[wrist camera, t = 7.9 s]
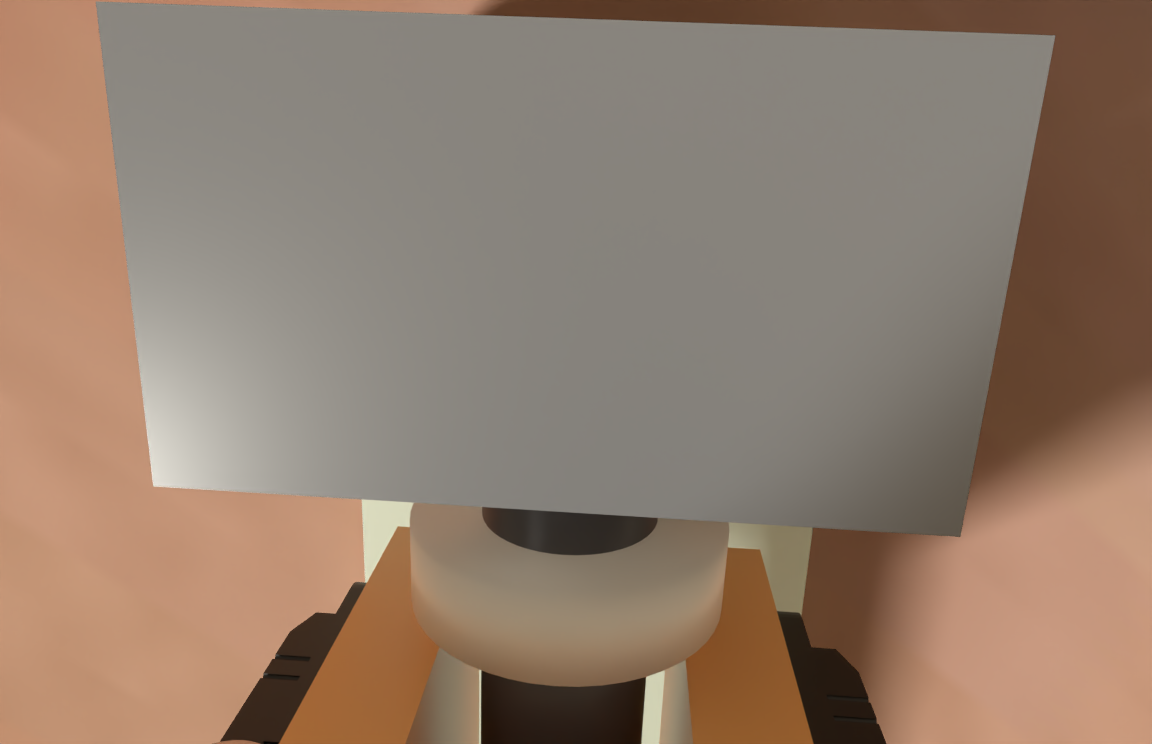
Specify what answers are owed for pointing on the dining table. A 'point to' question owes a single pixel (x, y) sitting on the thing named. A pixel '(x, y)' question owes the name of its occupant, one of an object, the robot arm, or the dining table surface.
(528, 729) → the cord stand
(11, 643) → the dining table surface
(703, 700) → the marker sleeve
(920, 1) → the dining table surface
